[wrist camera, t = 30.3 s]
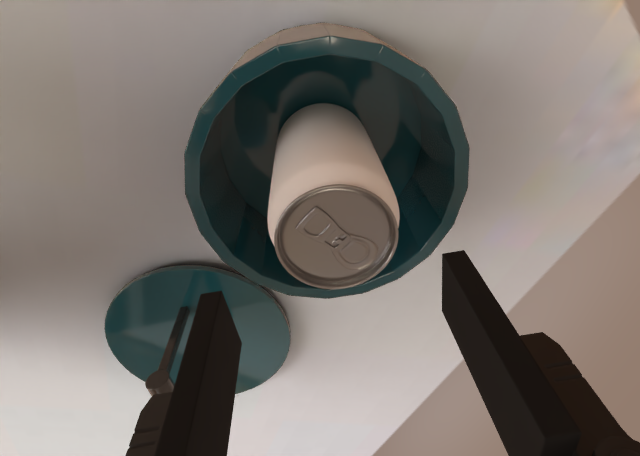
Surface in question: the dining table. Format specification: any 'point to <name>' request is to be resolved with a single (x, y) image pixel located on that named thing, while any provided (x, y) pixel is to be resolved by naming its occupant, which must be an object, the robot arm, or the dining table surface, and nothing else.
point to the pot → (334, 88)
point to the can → (330, 200)
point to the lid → (176, 320)
